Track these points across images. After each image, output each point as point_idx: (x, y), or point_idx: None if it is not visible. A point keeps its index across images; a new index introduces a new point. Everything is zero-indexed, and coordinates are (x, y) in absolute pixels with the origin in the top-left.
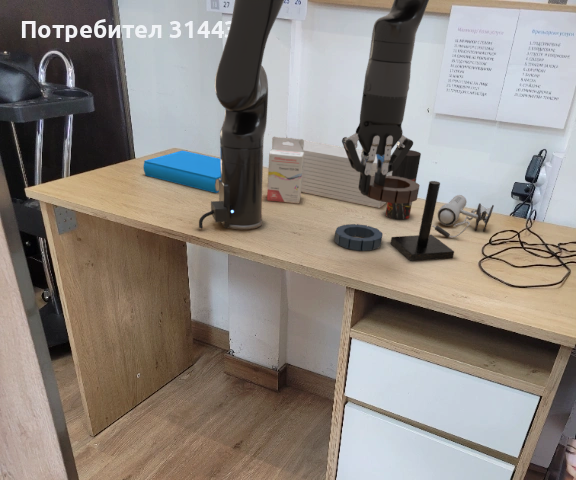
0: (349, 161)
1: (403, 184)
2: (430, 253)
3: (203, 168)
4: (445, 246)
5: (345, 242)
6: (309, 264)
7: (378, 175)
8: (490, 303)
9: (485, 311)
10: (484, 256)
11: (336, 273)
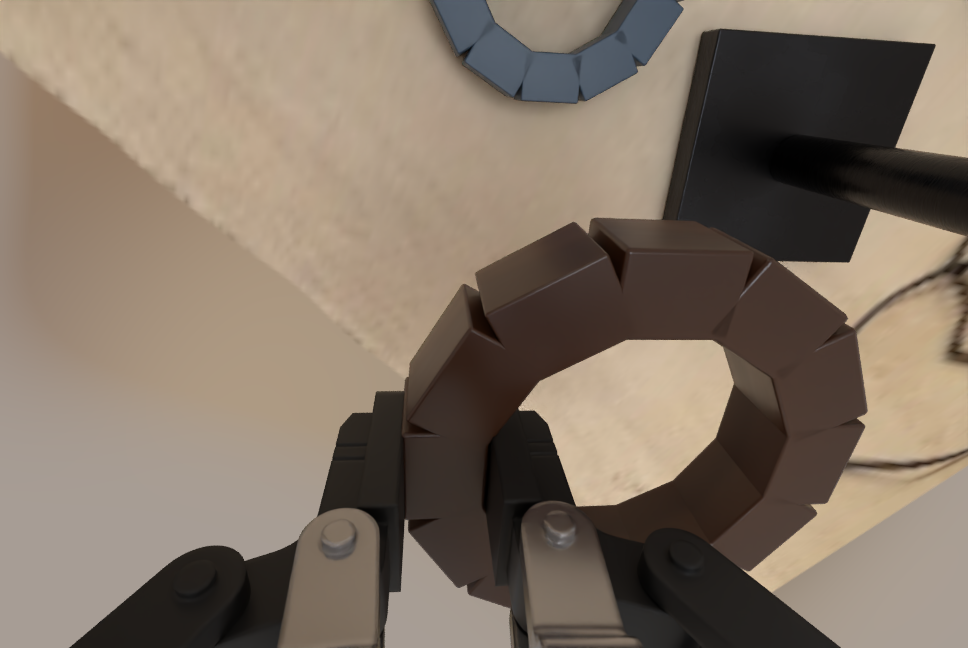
0: (87, 637)
1: (765, 407)
2: None
3: None
4: (862, 207)
5: (447, 35)
6: (220, 196)
7: (497, 552)
8: None
9: None
10: (950, 260)
11: (317, 297)
